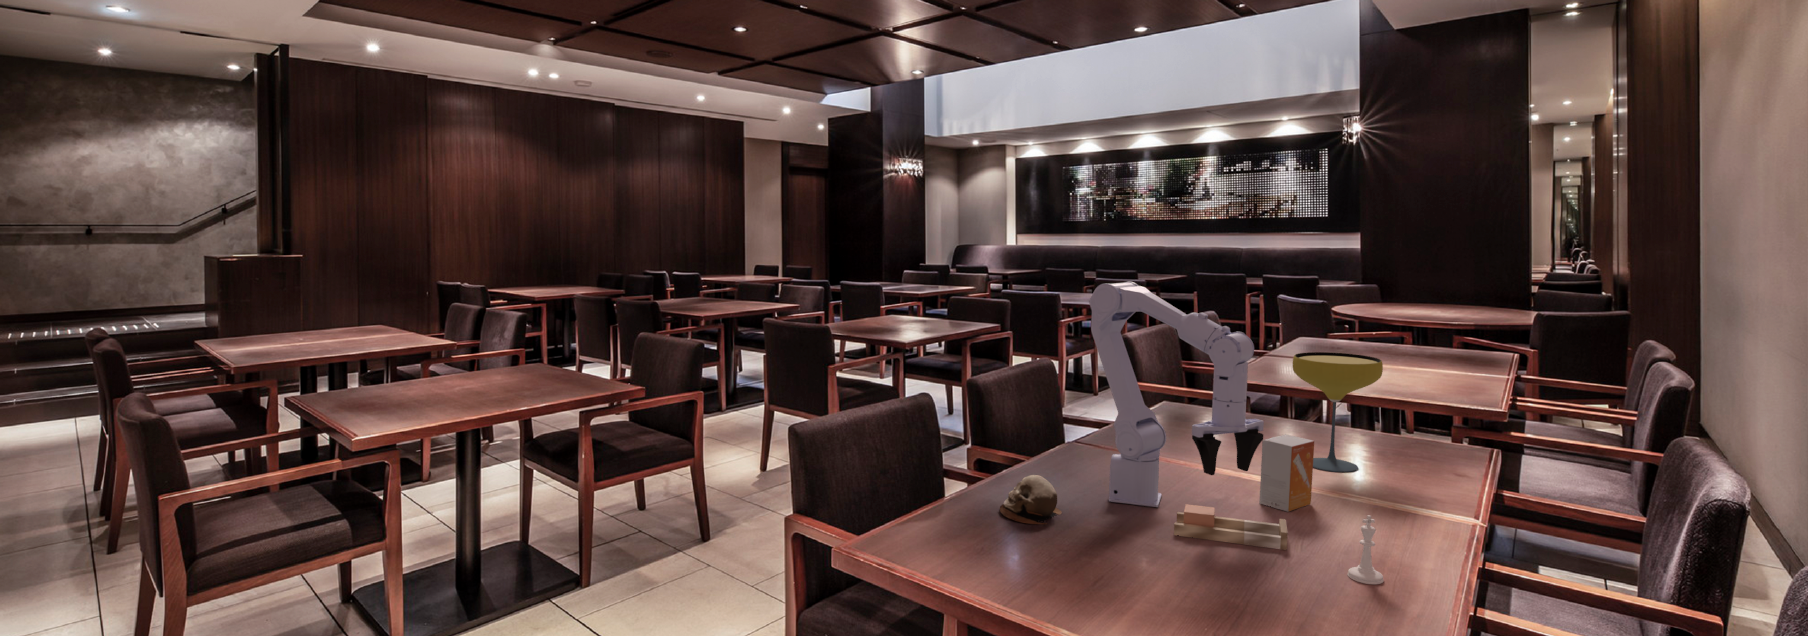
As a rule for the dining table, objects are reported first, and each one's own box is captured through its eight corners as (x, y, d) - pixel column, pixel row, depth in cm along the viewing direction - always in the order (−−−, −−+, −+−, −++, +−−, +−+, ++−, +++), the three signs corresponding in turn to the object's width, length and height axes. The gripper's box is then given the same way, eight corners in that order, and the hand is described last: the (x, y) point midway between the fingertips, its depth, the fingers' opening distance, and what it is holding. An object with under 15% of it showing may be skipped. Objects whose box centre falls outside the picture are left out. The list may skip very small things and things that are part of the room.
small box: (1288, 512, 156) (1291, 446, 155) (1258, 503, 162) (1261, 439, 160) (1312, 504, 161) (1315, 440, 160) (1281, 496, 166) (1284, 433, 165)
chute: (1173, 535, 145) (1174, 518, 145) (1176, 522, 152) (1177, 506, 151) (1286, 550, 138) (1287, 533, 138) (1284, 535, 145) (1285, 519, 144)
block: (1183, 533, 146) (1184, 511, 145) (1184, 525, 150) (1185, 504, 149) (1213, 537, 144) (1214, 515, 143) (1214, 529, 148) (1214, 507, 147)
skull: (983, 511, 155) (1003, 464, 160) (1007, 535, 162) (1025, 489, 166) (1038, 523, 147) (1057, 473, 152) (1060, 548, 154) (1078, 500, 158)
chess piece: (1340, 571, 129) (1343, 510, 128) (1370, 570, 130) (1373, 509, 129) (1360, 585, 125) (1364, 521, 123) (1390, 583, 125) (1394, 520, 124)
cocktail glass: (1277, 453, 198) (1282, 351, 195) (1357, 456, 195) (1363, 352, 192) (1303, 475, 180) (1308, 363, 177) (1391, 478, 177) (1398, 365, 175)
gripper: (1211, 406, 143) (1208, 482, 144) (1277, 400, 148) (1273, 473, 149) (1185, 398, 149) (1182, 470, 151) (1249, 393, 154) (1245, 463, 156)
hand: (1226, 471), depth 150 cm, fingers open, 7 cm apart
